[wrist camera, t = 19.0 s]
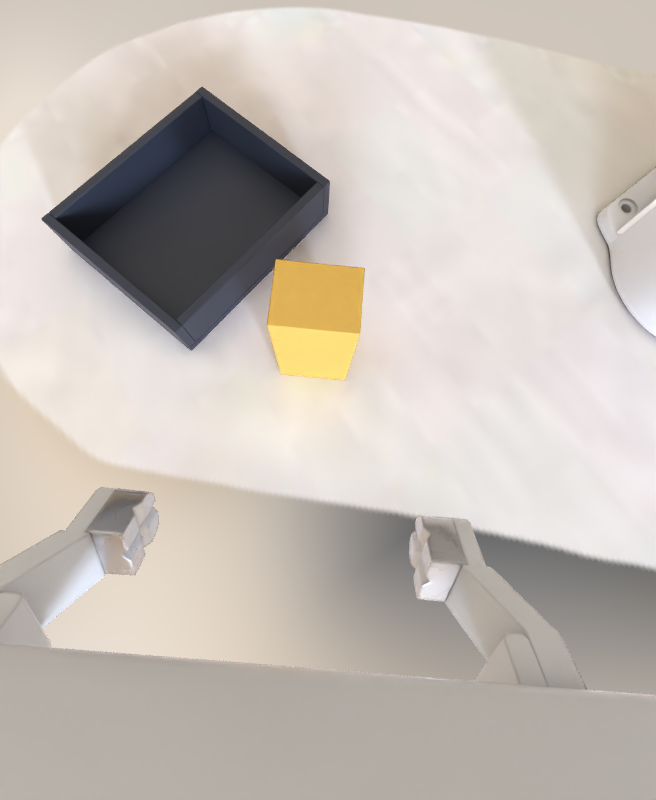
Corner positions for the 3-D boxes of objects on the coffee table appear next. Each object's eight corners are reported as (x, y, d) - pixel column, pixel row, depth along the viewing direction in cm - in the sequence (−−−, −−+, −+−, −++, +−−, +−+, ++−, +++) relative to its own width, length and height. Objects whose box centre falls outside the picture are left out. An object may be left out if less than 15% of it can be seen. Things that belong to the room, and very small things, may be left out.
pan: (213, 126, 33) (202, 86, 30) (328, 213, 32) (330, 181, 29) (70, 248, 30) (40, 218, 27) (191, 351, 29) (175, 332, 25)
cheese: (349, 331, 30) (364, 267, 21) (345, 380, 29) (360, 334, 20) (286, 325, 30) (275, 258, 21) (280, 374, 29) (266, 325, 20)
